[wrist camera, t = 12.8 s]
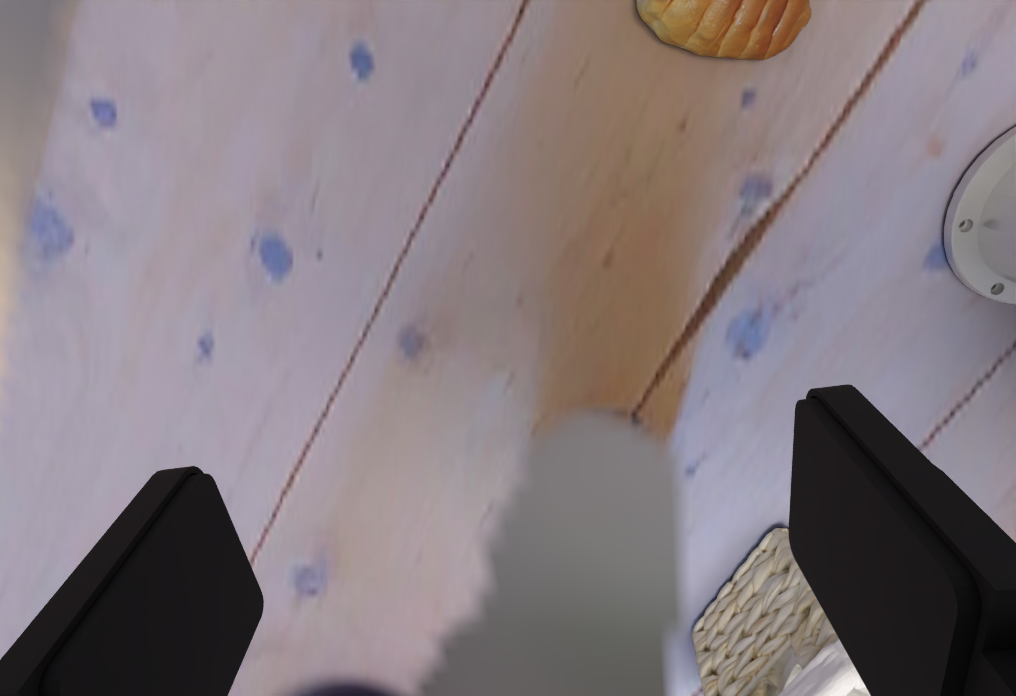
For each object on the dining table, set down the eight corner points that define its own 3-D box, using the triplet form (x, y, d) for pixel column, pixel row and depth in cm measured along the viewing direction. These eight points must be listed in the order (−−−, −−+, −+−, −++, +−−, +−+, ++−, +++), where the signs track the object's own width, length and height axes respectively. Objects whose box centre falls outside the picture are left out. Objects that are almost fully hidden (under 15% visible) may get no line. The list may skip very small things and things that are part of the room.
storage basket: (995, 594, 56) (1145, 764, 43) (878, 704, 63) (978, 882, 49) (768, 505, 52) (857, 663, 39) (667, 633, 59) (714, 807, 45)
